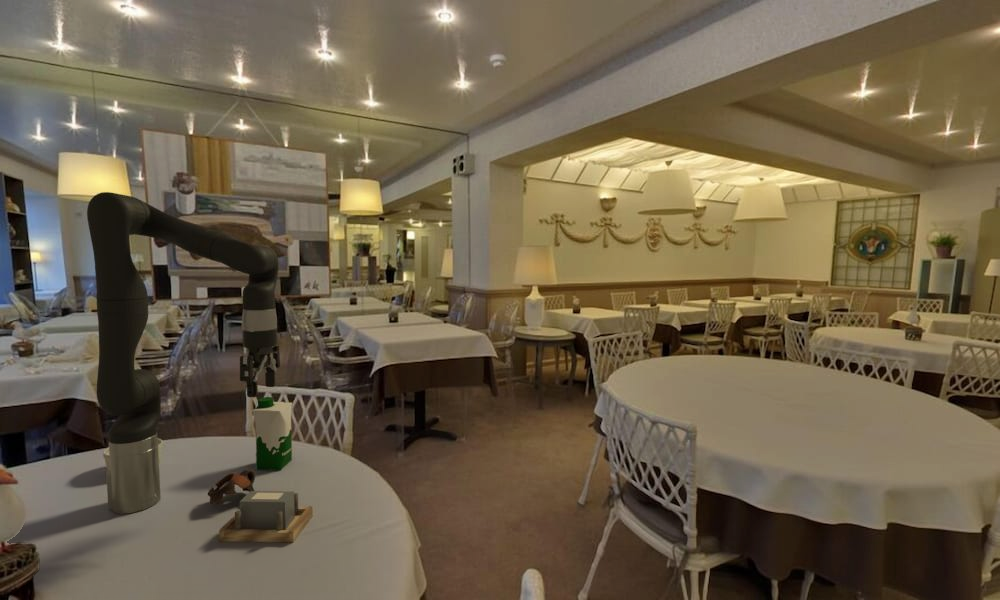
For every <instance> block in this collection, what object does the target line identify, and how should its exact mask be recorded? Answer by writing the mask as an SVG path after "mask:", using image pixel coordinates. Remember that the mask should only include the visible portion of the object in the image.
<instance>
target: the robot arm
mask: <svg viewBox="0 0 1000 600" xmlns="http://www.w3.org/2000/svg"><path fill="white" fill-rule="evenodd" d="M86 217H87V219H86V220H87V223H88V230H89V235H90V239H91V246H92V250H93V251H92V252H93V261H94V273H95V286H96V287H95V288H96V290H95V291H96V292H95V294H96V296H95V297H96V313H97V314H96V315H97V324H98V366H97V367H98V369H97V378H96V399H97V400H96V401H97V403H98V405H99V407H100V408H101V410H102V411H103V412H104V413H107V415H111V416H118V417H117V419H116V420H115V421H114V423H113V424H112V426H110V428H109V429H108V433H107V437H108V439H107V440H108V447H109V456H110V470H109V471H107V470H106V474H105V478H106V490H107V491H106V492H107V508H108V511H113V513H116V514H120V515H121V514H123V515H125V514H133V513H136V512H140V511H143V510H146V509H148V508H149V509H150V507H152V506H154V505H156V504H157V503H158V502H159V501H160V500H161V496H162V495H161V480H160V479H161V477H160V476H161V475H160V463H159V456H158V425H159V423H160V420H161V412H162V410H161V408H162V405H161V403H162V399H161V398H162V397H161V395H162V393H161V384H160V382H159V379H158V377H157V376H156V374H155V373H153V372H152V371H150V370H148V369H144V368H143V369H142V368H136V369H135V358H136V357H135V356H136V351H137V348H138V345H139V342H140V341H141V339H142V336H143V334H144V331H145V329H146V326H147V323H148V320H149V298H148V296H149V295H148V290H147V287H146V284H145V282H144V280H143V278H142V276H141V275H140V272H139V271H138V269H137V267H136V265H135V264H134V263H135V262H134V261H133V259H132V255H131V247H130V245H131V244H130V236H131V235H133V236H134V235H135V236H141V237H142V236H143V237H150V238H154V239H159V240H162V241H165V242H167V243H170V244H172V245H175V246H177V247H178V248H180V249H182V250H183V251H186V252H189V253H191V254H193V255H196V256H199V257H202V258H204V259H207V260H211V261H213V262H216V263H217V262H218V263H221V264H223V265H225V266H226V267H228V268H231V269H233V270H235V271H238V272H240V273H243V274H246V275H248V283H247V285H245V286H244V287H243V290H242V316H241V328H242V332H241V333H242V346H243V348H245V349H248V353H247V355H241V356H240V357H239V381H240V382H245V383H246V396H247V397H248V398H257V396H258V395H259V393H258V391H259V390H258V384H259V383H258V378H259V375H260V374H261V373H262V372H263V370H264V371H265V375H264V377H265V378H264V381H265V387H266V388H274V387H276V373H277V371H278V370H277V369H280V367H281V360H280V359H281V358H280V346H279V345H278V320H277V319H278V316H277V312H276V294H275V293H276V285H277V280H278V275H279V268H280V267H279V259H278V254H277V253H276V252H275V251H274V249H272V248H271V247H269V246H265V245H255V244H251V243H247V242H244V241H241V240H239V239H236V238H235V237H233V236H232V235H229V234H226V233H224V232H220V231H218V230H216V229H213V228H209V227H207V226H203V225H199V224H196V223H192V222H189V221H186V220H183V219H181V218H178V217H176V216H173V215H171V214H168V213H166V212H164V211H162V210H161V209H158V208H157V207H155V206H153V205H150V203H147V202H145V201H144V200H141V199H139V198H137V197H135V196H131V195H126V194H120V193H116V192H111V191H110V192H109V191H106V192H105V191H104V192H103V191H102V192H98V193H97V194H95V195H94V196H93V197H92V198H91V199H90V200H89V202H88V206H87V210H86Z"/></svg>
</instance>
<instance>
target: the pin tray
mask: <svg viewBox="0 0 1000 600" xmlns="http://www.w3.org/2000/svg"><path fill="white" fill-rule="evenodd" d="M294 508H295V519H294V520H293V521H292V522H291V524H290V525H289V526H288V528H287V529H286V530H283V519H282V511H279V512H277V513H276V525H277V530H254V529H242V523H241V511H240V510H236V511H235V512H234V515H233V516H232V517H231V518H230V519H229V520H228V521H227V522H226V523H225V524H224V525H223V526H222V527H221V528H220V529H219V530H218V531H219V532H218V533H219V542H243V543H244V542H245V543H247V542H248V543H294V542H295V541H296V540H297V539H298V537H299V536H300V534H301V533H302V531H303V530H304V529H305V528H306V526H307V524H308V523H309V522H310V520H311V519H312V518H313V505H308V506H306V507H305V506H299V493H298V492H294Z"/></svg>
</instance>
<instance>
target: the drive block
mask: <svg viewBox="0 0 1000 600" xmlns="http://www.w3.org/2000/svg"><path fill="white" fill-rule="evenodd" d="M294 493H295V491H286V490H285V491H283V490H282V491H281V490H280V491H279V490H277V491H276V490H275V491H274V490H272V491H270V490H254V491H250V492H249V491H248V493H247V494H246V495H244V496H243V498H241V500H239V511H241V523H242V529H254V530H277V525H276V513H277V512H279V511H282V519H283V530H286V529H287V528H288V526H289V525H290V524H291V522H292V521H293V520H294V519H295V508H294Z"/></svg>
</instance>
